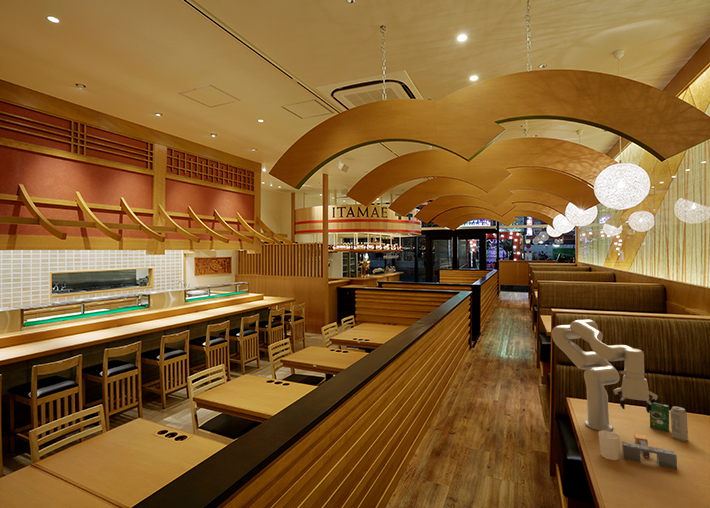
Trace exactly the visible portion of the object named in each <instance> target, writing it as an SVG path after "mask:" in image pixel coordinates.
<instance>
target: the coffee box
mask: <svg viewBox="0 0 710 508" xmlns="http://www.w3.org/2000/svg"><path fill="white" fill-rule="evenodd" d="M649 427H650V428H652V429H653V428H654V429H656V430H657V429H658V430H660V431H661V430H662V431H665V432H670V406H669V405H668V404H664V403H658V402H656V401H655V402H654V403H652V405H651V411H650V413H649Z"/></svg>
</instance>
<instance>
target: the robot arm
mask: <svg viewBox="0 0 710 508" xmlns="http://www.w3.org/2000/svg"><path fill="white" fill-rule="evenodd" d="M603 337H604V335H603V332H601V331H600V330H599V325H598V324H597V322H595V321H594V320H592V319H575V320H573V321H572V322H570V324H561V325H557V326H554V327H553V328H552V329H551V338H552V341H553V342H554V344H555V345H556V347H558V348H559V349H560V350H561V351H562V352H563V353H564V354H565V355H566V356H567V358H568V359H569V360H570V361H571V362H572V363H573V364H574V366H576V367H577V368H578V369H580V370H584V372H583V378H584V382H585V383H584V384H585V387H586V388H585V389H586V403H587V404H586V405H587V419H585V420H584V425H585V426H586V427H587V428H590V429H592V430H595V431H598V432H599V431H610V432H612V431H613V429H614V428H613V426H614V425H612V424H610V413H609V395H608V392H607V390H606V388H605V386H608V385H613V384H618V382H619V381H620V378H621V377H620V374H622V375H623V376H622V381H621V387H617V388H614V389H612V392H613V393H614V396H616V398H618V399H619V405H620V407H621V409H622V410H625V406H626V404H625V399H629V400H637V401H644V402H645V409H646V412H647V413H648V414H650V411H651V405H652V403H654V402H655V403H656V400H658V398H659V396H658V395H657V394H655V393H654V392H652V391H650V390H649V384H648V379H647V378H645V354H644V351H643V350H641V349H639V348H634V347H631V346H629V345H626V344H613V345H607V344H606V343H603V342H602V341H603ZM575 339H577V340H578V339H582V340H584V341H586V343H588V344H589V346H590V348H591V351H584V350H583V349H582V348H581V347H580V346H579V345H578V344H577V343H575V342H574V341H572V340H575ZM617 361H624V370H620V371H621V372H620V374H619V372H618V370H617V369H616V367H615V366H614V365H612V363H610V362H617ZM618 392H621V394H619V393H618ZM650 396H652V398H650Z"/></svg>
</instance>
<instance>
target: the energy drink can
mask: <svg viewBox="0 0 710 508" xmlns="http://www.w3.org/2000/svg"><path fill="white" fill-rule="evenodd" d="M670 420H671V421H670V422H671V424H670V425H671V436H672V437H673V438H674V439H675V440H677V441H680V440H681V442H687V440H688V439H689V432H688V414H687V411H686V409H685V408H684V407H681V406H675V405H674V406H672V407H671V409H670Z"/></svg>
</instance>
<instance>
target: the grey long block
mask: <svg viewBox="0 0 710 508" xmlns="http://www.w3.org/2000/svg"><path fill="white" fill-rule="evenodd" d="M621 447H622V448H621V451H622V453H621V454H622V458H623V457H624V458H625V459H624V458H623V459H624V460H627V459H630V460H629V461H632V460H634V461H633V462H638V461H639V463H641V451H644V452H649V454H655V455H656V463H657V464H658V466H660V467H663V468H668V469H673V470H678V459H677V458H678V457H677V454H676V452H675V450H671V449H664V448H660V447H654V446H650V445H648V446H644V445H639V444H635V443H633V442H626V441H621Z"/></svg>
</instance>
